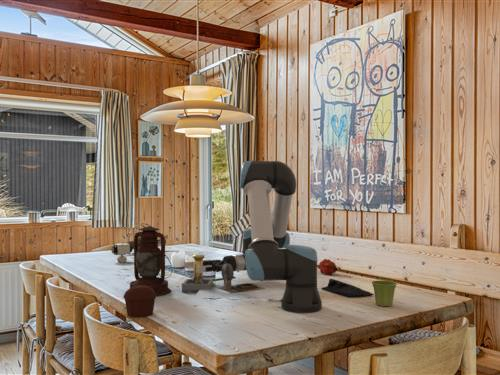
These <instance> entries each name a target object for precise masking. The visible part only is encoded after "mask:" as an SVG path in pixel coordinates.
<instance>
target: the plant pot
mask: <svg viewBox="0 0 500 375" xmlns="http://www.w3.org/2000/svg"><path fill="white" fill-rule="evenodd" d="M371 284H372V287H373V290H374V293H373V294H374V299H375V300H374V302H375V305H377V306H378V305H380V306H379V307H383V306H385V307H389V306H390V307H392V306H393V304H394V303H393V302H394V297H395V289H396V288H397V285H398V282H395V281H391V280H383V279H382V280H379V279H378V280H372V281H371Z"/></svg>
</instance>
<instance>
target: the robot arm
mask: <svg viewBox="0 0 500 375" xmlns="http://www.w3.org/2000/svg"><path fill="white" fill-rule="evenodd" d="M239 189H242V190H243V193H244V194H245V195H246V196H247V200H248V201H247V202H248V211H249V222H250V228H245V229H243V231H242V254H232V255H225V256H223V258H222V260H221V259H207V260H206V259H203V266H198V273H203V274H204V273H212V272H215V273H220V272H221V270H222V266H223V265H224V264H231V265H232V267H233V271H234V272H237V273H240V272H242V271H243V272H244V271H246V273H247V276H248V278H249V279H250V280H251V281H253V282H255V281H256V282H257V281H258V282H259V281H260V282H267V281H268V282H269V281H271V282H272V281H273V282H274V281H285V289H284V291H283V292H284V293H283V296H282V299H281V308H282V310H284V311H288V312H292V313H293V312H294V313H315V312H319V311H321V310H322V309H323V308H322V307H323V304H322V303H323V302H322V299H321V296H320V293H319V289H318V263H319V262H318V253H317V250H316V249H315V248H313V247H309V246H305V245H298V244H290V243H291V242H290V241H291V238H290V233H289V232H287V230H288V224H289V218H290V214H291V213H290V212H291V206H292V200H293V195H294V194H295V193H296V190H297V178H296V176H295V174H294V172H293V170H292V169H291V167H290V166H289V165H288V164H286V163H284V162H282V161H280V160H246V161H243V162H242V165H241V172H240V180H239ZM272 190H273V191H274V192H275V194H274V201H273V202H274V203H273V209H272V211H271V203H270V195H269V194H270V193H271V192H272ZM183 264H184V269H194V261H186V262H185V261H184V263H183Z"/></svg>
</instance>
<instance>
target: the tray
mask: <svg viewBox="0 0 500 375" xmlns="http://www.w3.org/2000/svg"><path fill="white" fill-rule="evenodd" d="M193 282H194V278H186V279H185V280H184V281H183V282H182V283H181V293H199V291H200V290H210V289H211V288H212V286H213V284H214V279H213V278H203V284H193Z"/></svg>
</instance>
